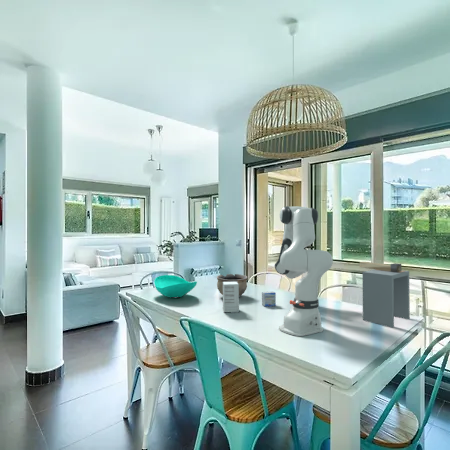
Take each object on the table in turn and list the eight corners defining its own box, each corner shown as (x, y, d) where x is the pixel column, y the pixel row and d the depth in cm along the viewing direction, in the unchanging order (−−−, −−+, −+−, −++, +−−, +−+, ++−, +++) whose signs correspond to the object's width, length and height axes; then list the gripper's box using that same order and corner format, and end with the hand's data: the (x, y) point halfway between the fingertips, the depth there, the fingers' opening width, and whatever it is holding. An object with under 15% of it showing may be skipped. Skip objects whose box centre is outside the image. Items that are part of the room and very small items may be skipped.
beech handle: (396, 272, 159) (396, 264, 159) (359, 267, 178) (359, 260, 178) (401, 271, 162) (401, 263, 162) (364, 266, 181) (364, 260, 181)
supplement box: (239, 312, 178) (239, 284, 178) (223, 313, 177) (223, 284, 177) (237, 308, 187) (237, 281, 187) (222, 308, 187) (222, 281, 187)
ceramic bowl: (241, 292, 231) (240, 273, 231) (252, 299, 210) (252, 277, 210) (213, 294, 224) (213, 274, 224) (222, 301, 203) (222, 279, 203)
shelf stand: (392, 327, 151) (391, 274, 151) (362, 320, 162) (362, 271, 162) (409, 318, 164) (409, 270, 164) (381, 312, 176) (381, 267, 176)
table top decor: (206, 299, 210) (206, 280, 210) (170, 305, 194) (170, 285, 194) (179, 289, 242) (179, 273, 242) (146, 294, 225) (146, 277, 225)
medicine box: (264, 307, 190) (264, 293, 190) (261, 305, 194) (261, 291, 194) (275, 306, 192) (275, 292, 192) (272, 304, 196) (272, 291, 196)
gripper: (293, 261, 191) (308, 252, 182) (312, 259, 204) (327, 250, 194) (297, 271, 189) (313, 261, 179) (316, 267, 201) (332, 259, 192)
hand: (321, 255), depth 187 cm, fingers open, 8 cm apart
